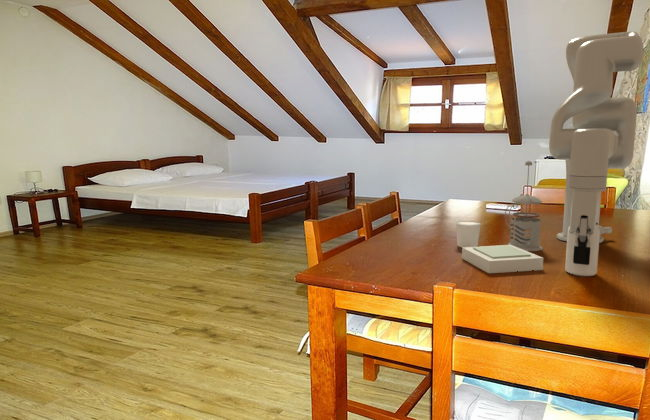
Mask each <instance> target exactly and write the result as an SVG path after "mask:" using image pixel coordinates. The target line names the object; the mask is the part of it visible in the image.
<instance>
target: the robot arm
mask: <svg viewBox="0 0 650 420" xmlns="http://www.w3.org/2000/svg"><path fill="white" fill-rule="evenodd" d="M643 57H644V43H643V40H642V38H641V36H640V34H639V33H638V32H637V31H623V32H622V31H621V32H612V33H603V34H600V33H599V34H593V35H585V36H581V37H580V36H579V37H576V38H574V39H571V41H569V42H568V43H567V44H566V49H565V58H566V63H567V67H568V70H569V72H570V74H571V77H572V81H573V89H572V90H573V92H572V94H571V95H569V96H568V97H567V98H566V99H565V100H563V102H561V104H560V105H559V106H558V108H556V110H555V112H554V114H553V116H552V119H551V123H550V132H549V142H548V147H549V148H548V149H549V153H550V155H551V156H552V158H554V159H556V160H560V161H561V160H563V161H564V160H565V173H566V175H565V190H564V191H565V192H564V193H565V195H564V207H563V209H564V210H563V222H562V232H559V233H557V234H556V238H557V239H558V240H560V241H563V242H567V236H568V228H569V226H570V230H569V232H570V233H571V234H572V233H573V232H575V231H576V230H577V231H576V243H575V246H574V256H573V263H575V264H583V265H589V260H590V247H589V243H590V233H591V235H592V234H594V230H595V226H596V223H598V227H599V229H600V238H599V244H601V243H603V242H604V237H603V236H602V235H603V234H611V233H613V228H612V227H611V226H605V227H603V225H599V224H600V213H601V198H602V192H606V191H607V185H608V184H607V183H608V182H607V180H608V169H610V170H611V169H612V170H614V169H620V170H621V169H626V168H627V167H629V166H631V164H632V162H633V157H634V151H635V141H636V128H637V114H638V113H637V104H636V102H635V101H634V99H633V98H631V97H624V96H623V97H612V94H613V81H614V79H613V78H614V73H618V72H631V71H636V70H638V68H640V66H641V64H642V63H643ZM571 118H572V126H573V128H564V125H565V123H566V122H567V121H568V120H570V119H571ZM587 221H588V224H587ZM588 229H589V232H588V233H586V231H588ZM578 230H579V231H580V233H578ZM590 230H591V231H590ZM579 236H580V237H579ZM586 246H587V247H586Z"/></svg>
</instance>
